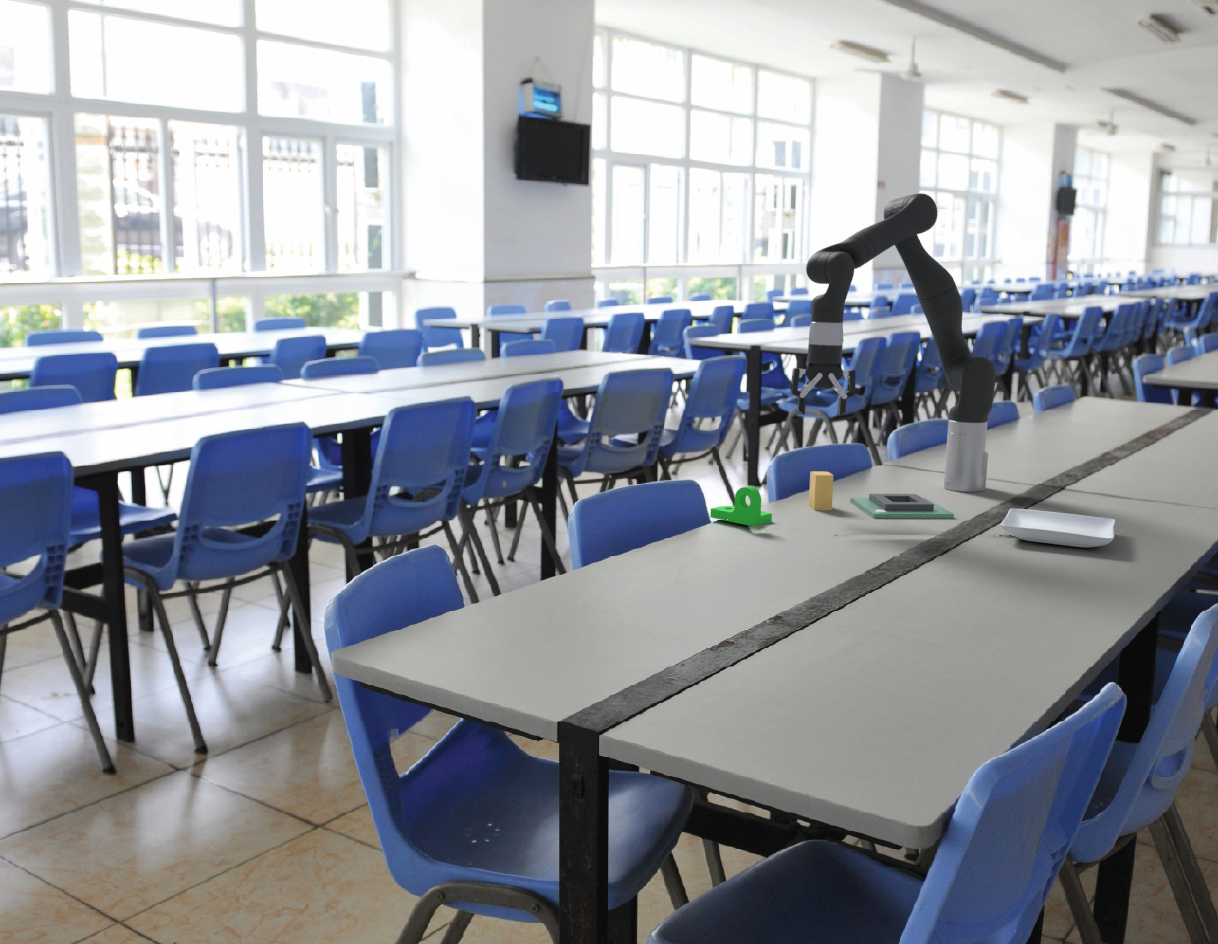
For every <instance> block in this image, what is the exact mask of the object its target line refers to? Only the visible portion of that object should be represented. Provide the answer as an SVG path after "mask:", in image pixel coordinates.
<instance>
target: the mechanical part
mask: <svg viewBox="0 0 1218 944" xmlns="http://www.w3.org/2000/svg"><path fill="white" fill-rule="evenodd" d="M747 498H748V499H749V502H750V504H748V503H747V501H746V499H747ZM709 518H711V519H717V520H722V521H726V522H731V523H736V524H741V525H744V526H761V525H764V524H769V523H772V521H773V513H772V512H767V511H762V496H761V493H760V491H759V490H758V489H757V488H756V487H755V486H752V485H749V486H745V487H744V486H743V487H740V488H738V490H736V493H735V495H734V505H723V506H722V505H721V506H716V507H712V508H710V517H709ZM727 519H728V520H727Z"/></svg>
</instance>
